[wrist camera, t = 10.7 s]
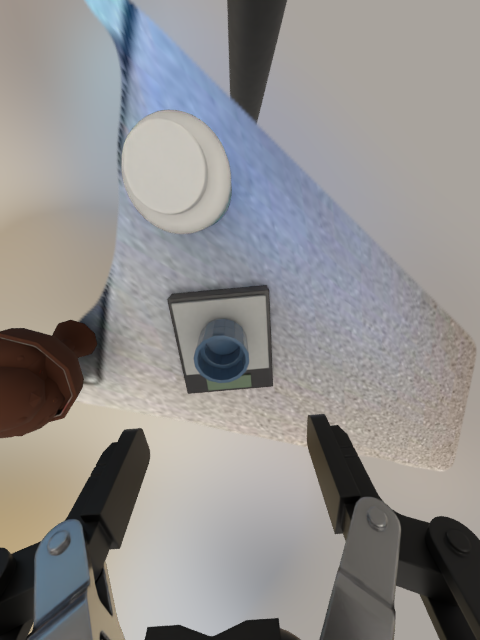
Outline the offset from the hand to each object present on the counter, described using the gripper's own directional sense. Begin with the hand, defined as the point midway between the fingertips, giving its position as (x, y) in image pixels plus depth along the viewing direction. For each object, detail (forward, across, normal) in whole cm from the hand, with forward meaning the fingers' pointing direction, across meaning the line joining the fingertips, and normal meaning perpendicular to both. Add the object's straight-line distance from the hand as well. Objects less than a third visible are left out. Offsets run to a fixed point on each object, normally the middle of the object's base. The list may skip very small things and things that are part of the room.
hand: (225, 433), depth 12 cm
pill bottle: (+21, +2, -12) cm, 24 cm away
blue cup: (+18, +1, +4) cm, 18 cm away
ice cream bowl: (+21, +21, +4) cm, 30 cm away
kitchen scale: (+20, +1, +6) cm, 21 cm away
